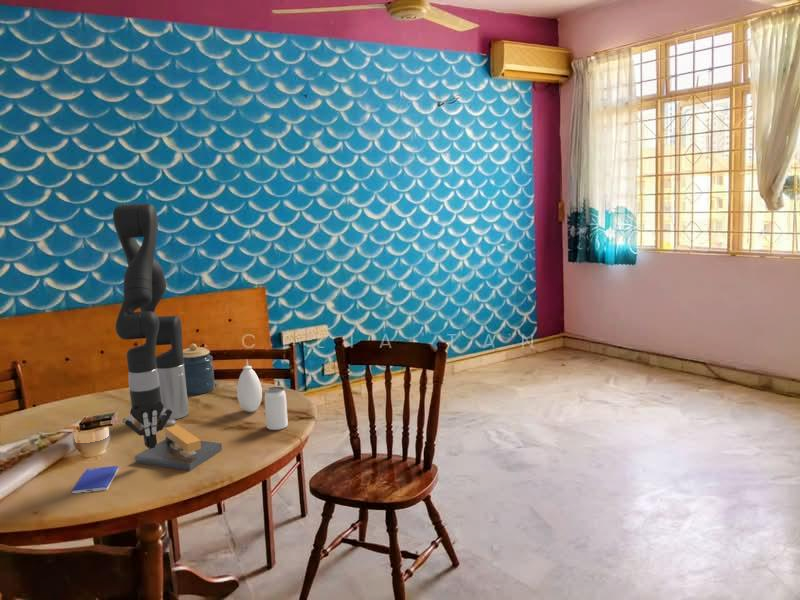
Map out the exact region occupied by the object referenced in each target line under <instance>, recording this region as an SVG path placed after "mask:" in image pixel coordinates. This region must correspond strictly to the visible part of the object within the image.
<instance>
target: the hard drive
mask: <svg viewBox="0 0 800 600" xmlns="http://www.w3.org/2000/svg"><path fill="white" fill-rule="evenodd" d="M119 470H120V468H119V466H118V465H112V466H104V467H92V468H87V469H85V471H84V472H83V473H82V475H81V477H80V478H79V480H78V481H77V483H76V484H75V485H74V487H73V488H72V491H71V494H72V493H76V494H82V493H81V492H85V493H92V492H91V491H94V492H100V491H101V492H102V490H103V491H108V489H109V487H110V486H111V484H112V482H113V481H114V479H115V477H116V476H117V473H118V472H119Z"/></svg>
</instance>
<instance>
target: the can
mask: <svg viewBox="0 0 800 600" xmlns="http://www.w3.org/2000/svg"><path fill="white" fill-rule="evenodd" d="M264 391H265V392H264V409H265V423H266V428H267V429H268V430H270V431H281V430H284V429H286V428H287V426H288V425H289V423H288V422H289V421H288V405H287V394H286V391H285V388H284V387H282V386H271V387H267V388H266V389H265V390H264Z"/></svg>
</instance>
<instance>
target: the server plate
mask: <svg viewBox="0 0 800 600" xmlns="http://www.w3.org/2000/svg"><path fill="white" fill-rule="evenodd" d="M200 442H201V449H199V450H195V451H192V452H189V453H188V452H187V451H185V450H184V449H183V448H181V447H180V446H179V445H177V444H176V443H175V442H173V441H166V438H165V439H163V440H161V441H159V442H157V444H156V445H155V448H151V449H149V448H147V449H146V450H143V451H142V452H140V453H137V454H136V455H135V456H134V458H135V463H136V464H141V465H147V466H148V465H149V466H155V467H160V468H161V467H162V468H168V469H169V468H170V469H175V470H184V471H190V472H191V471H192V470H194V469H195V468H197V467H198V466H199V465H201V464H203V463H204V462H206V461H208V460H209V459H211V458H212V457H213V456H215V455H217V454H218V453H220V452H221V451H223V447H222V443H221V442H213V441H207V440H206V441H205V440H200Z"/></svg>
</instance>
